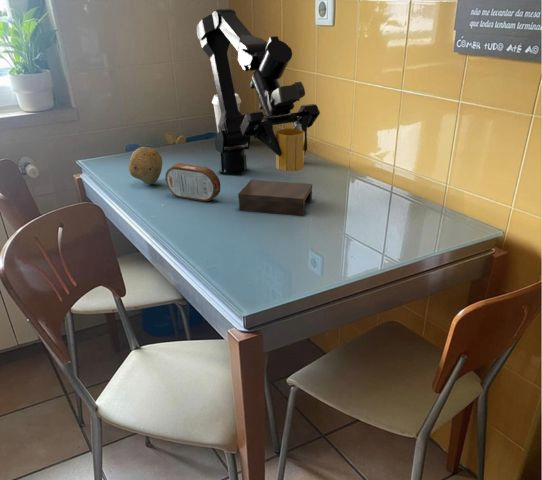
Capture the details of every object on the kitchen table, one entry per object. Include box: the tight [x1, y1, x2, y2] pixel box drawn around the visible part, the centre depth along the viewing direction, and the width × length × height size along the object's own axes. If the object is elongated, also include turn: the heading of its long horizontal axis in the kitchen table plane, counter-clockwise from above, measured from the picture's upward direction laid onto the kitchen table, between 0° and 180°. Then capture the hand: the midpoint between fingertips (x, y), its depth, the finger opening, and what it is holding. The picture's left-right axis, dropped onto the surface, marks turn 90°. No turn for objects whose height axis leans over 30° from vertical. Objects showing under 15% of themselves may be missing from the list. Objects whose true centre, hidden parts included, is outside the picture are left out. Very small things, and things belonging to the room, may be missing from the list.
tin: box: [165, 162, 221, 202], centre depth 137 cm, size 15×3×8 cm, turn 65°
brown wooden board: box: [237, 179, 313, 216], centre depth 134 cm, size 16×11×4 cm
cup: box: [275, 128, 305, 173], centre depth 126 cm, size 6×7×8 cm
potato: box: [128, 146, 163, 185], centre depth 147 cm, size 9×9×10 cm
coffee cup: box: [211, 92, 242, 133], centre depth 179 cm, size 10×10×15 cm
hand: (292, 152), depth 125 cm, fingers closed on cup, 6 cm apart
